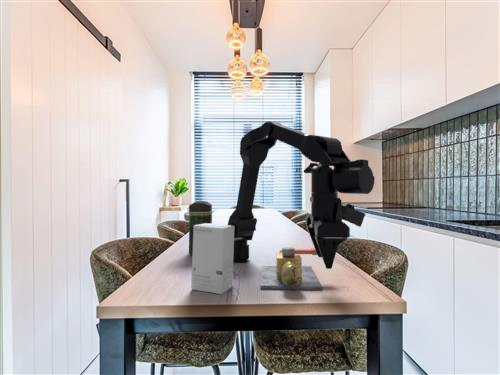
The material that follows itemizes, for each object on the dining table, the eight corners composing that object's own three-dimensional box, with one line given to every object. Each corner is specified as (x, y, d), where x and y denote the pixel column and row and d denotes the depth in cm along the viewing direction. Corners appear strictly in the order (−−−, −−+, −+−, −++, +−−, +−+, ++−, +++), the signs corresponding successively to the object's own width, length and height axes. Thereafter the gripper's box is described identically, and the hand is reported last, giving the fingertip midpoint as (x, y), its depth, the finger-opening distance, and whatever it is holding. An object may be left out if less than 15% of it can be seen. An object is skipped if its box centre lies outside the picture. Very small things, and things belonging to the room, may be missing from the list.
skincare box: (190, 290, 65) (190, 225, 65) (204, 281, 70) (204, 222, 70) (223, 295, 62) (223, 227, 61) (235, 286, 67) (234, 223, 67)
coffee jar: (210, 256, 96) (209, 201, 96) (186, 256, 96) (186, 201, 95) (213, 249, 105) (213, 200, 105) (192, 250, 105) (192, 200, 105)
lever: (282, 256, 71) (282, 249, 71) (281, 253, 74) (281, 247, 74) (329, 256, 71) (329, 250, 70) (326, 253, 74) (326, 247, 74)
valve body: (322, 291, 63) (322, 265, 63) (260, 290, 64) (260, 265, 64) (310, 268, 81) (310, 248, 81) (261, 267, 82) (261, 247, 82)
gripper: (377, 194, 54) (377, 276, 54) (349, 191, 72) (349, 252, 72) (317, 194, 54) (317, 275, 54) (305, 192, 73) (305, 252, 73)
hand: (324, 262), depth 63 cm, fingers open, 9 cm apart
